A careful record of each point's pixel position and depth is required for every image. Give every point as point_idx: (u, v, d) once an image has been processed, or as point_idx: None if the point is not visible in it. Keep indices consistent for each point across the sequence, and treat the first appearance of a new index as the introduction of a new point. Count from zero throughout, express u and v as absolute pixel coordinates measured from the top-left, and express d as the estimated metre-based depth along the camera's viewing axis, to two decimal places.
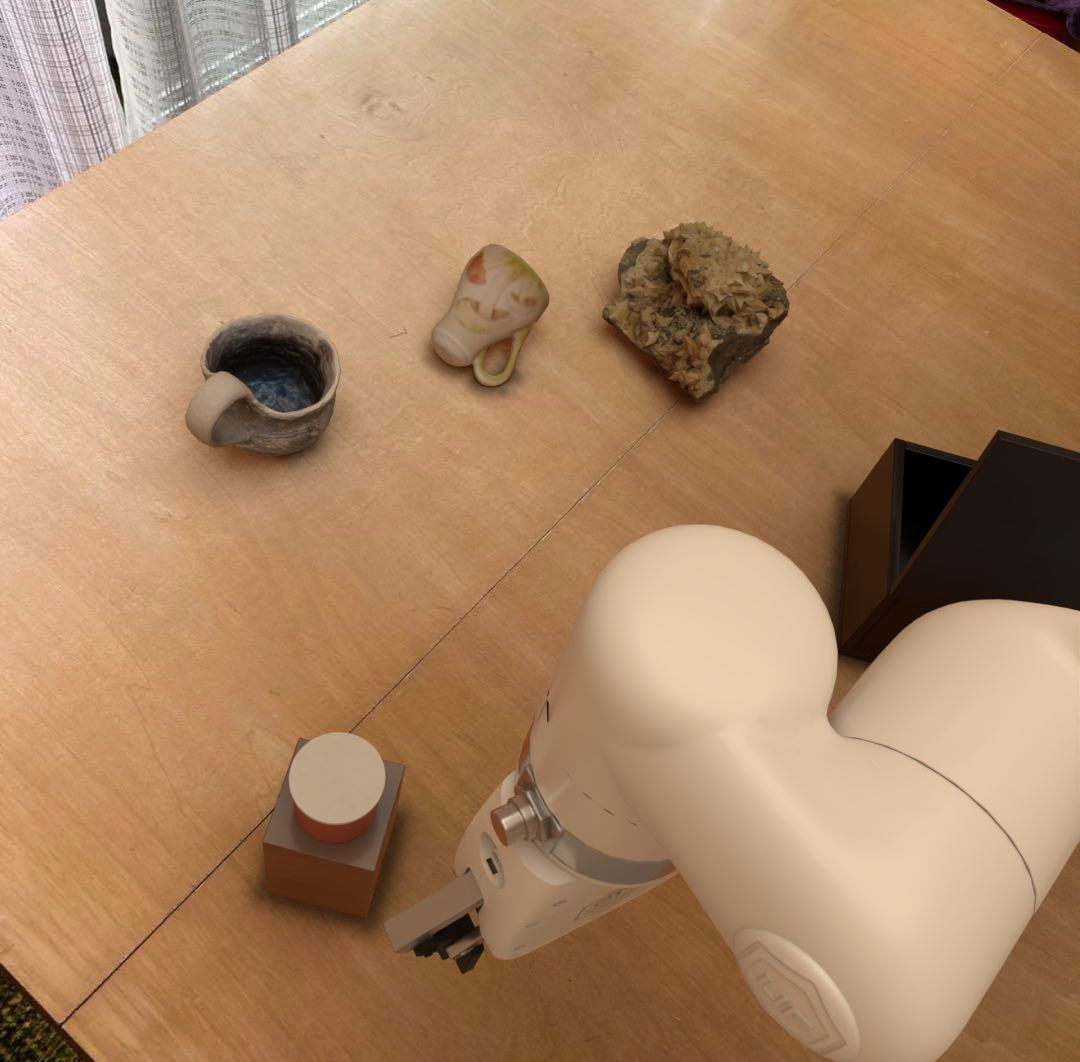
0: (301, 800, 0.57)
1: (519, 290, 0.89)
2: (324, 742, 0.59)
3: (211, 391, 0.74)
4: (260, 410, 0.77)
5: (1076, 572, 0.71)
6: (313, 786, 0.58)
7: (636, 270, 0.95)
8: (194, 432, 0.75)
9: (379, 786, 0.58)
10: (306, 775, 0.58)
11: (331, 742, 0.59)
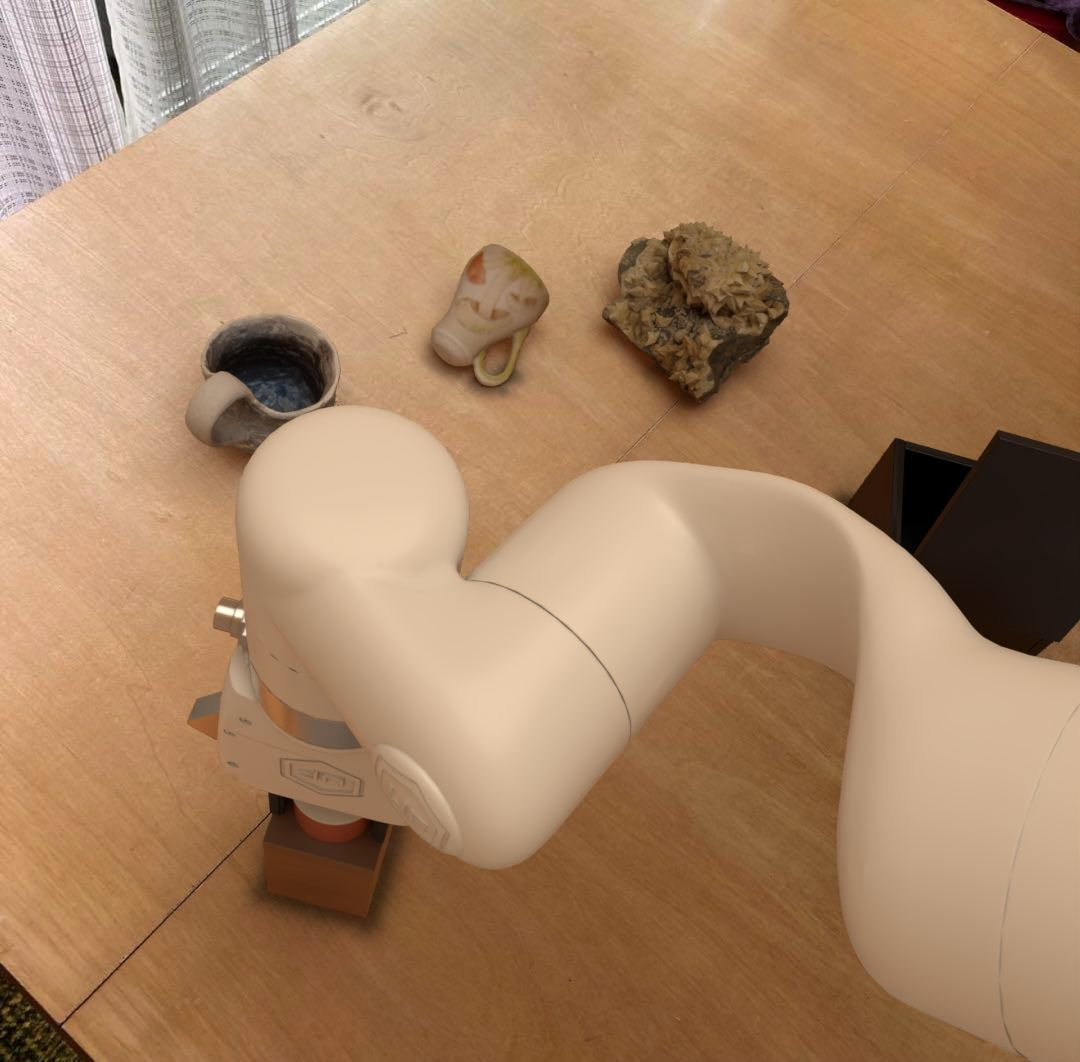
0: None
1: (519, 290, 0.89)
2: None
3: (211, 391, 0.74)
4: (260, 410, 0.77)
5: (1076, 572, 0.71)
6: None
7: (636, 270, 0.95)
8: (194, 432, 0.75)
9: None
10: None
11: None
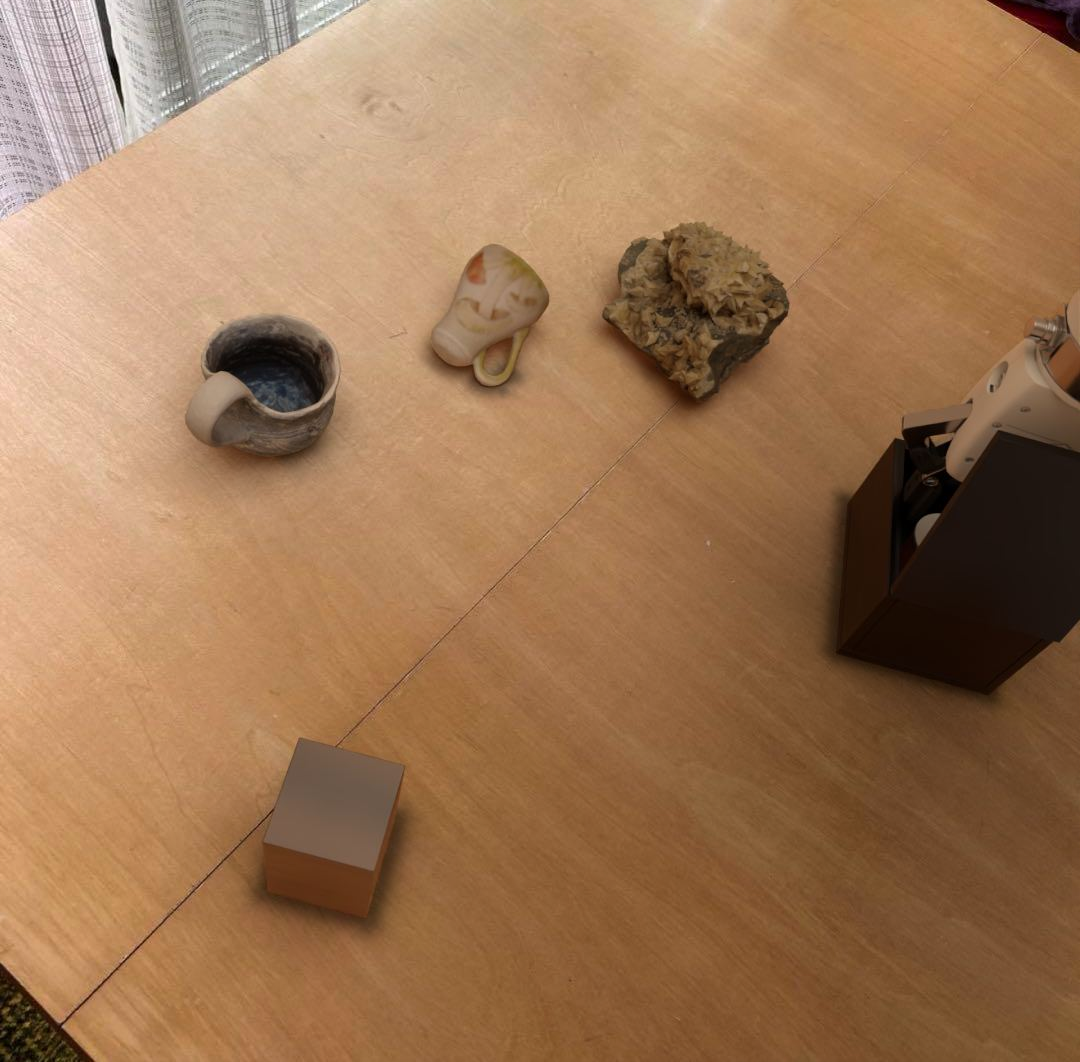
0: None
1: (519, 290, 0.89)
2: (931, 519, 0.85)
3: (211, 391, 0.74)
4: (260, 410, 0.77)
5: (1076, 572, 0.71)
6: None
7: (636, 270, 0.95)
8: (194, 432, 0.75)
9: None
10: None
11: (935, 519, 0.85)
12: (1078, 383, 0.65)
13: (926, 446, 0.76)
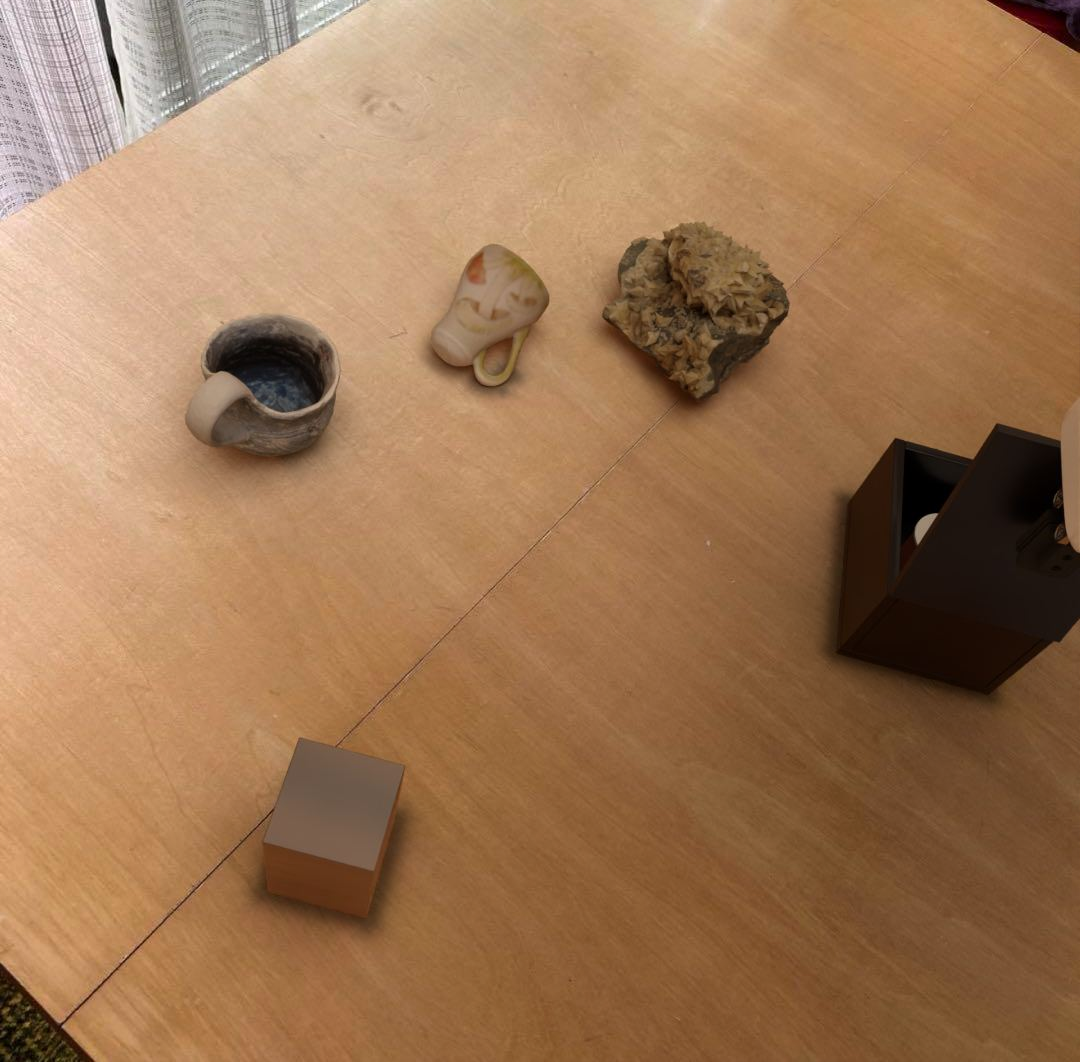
0: None
1: (519, 290, 0.89)
2: (931, 519, 0.85)
3: (211, 391, 0.74)
4: (260, 410, 0.77)
5: None
6: None
7: (636, 270, 0.95)
8: (194, 432, 0.75)
9: None
10: None
11: None
12: None
13: None
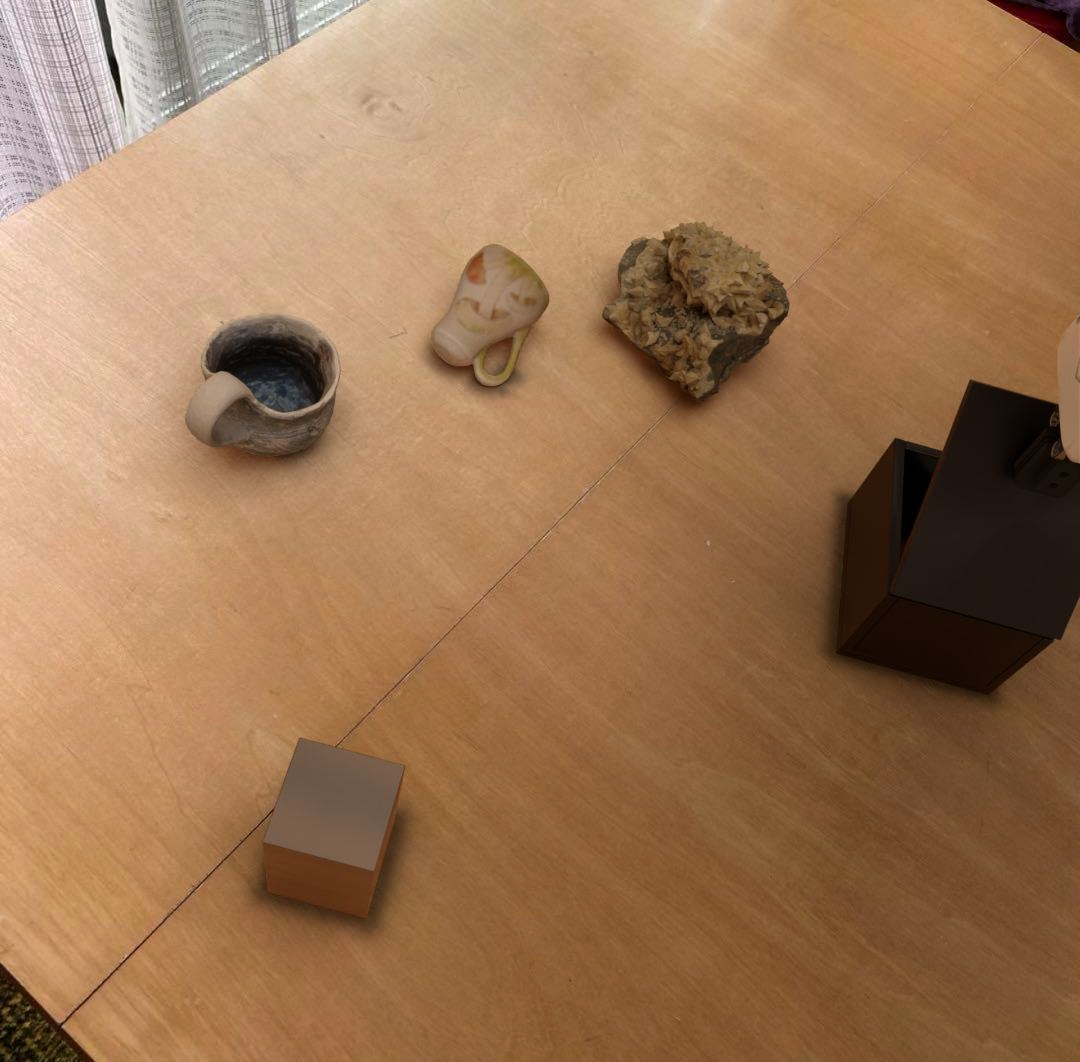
0: None
1: (519, 290, 0.89)
2: None
3: (211, 391, 0.74)
4: (260, 410, 0.77)
5: (1063, 541, 0.74)
6: None
7: (636, 270, 0.95)
8: (194, 432, 0.75)
9: None
10: None
11: None
12: None
13: None
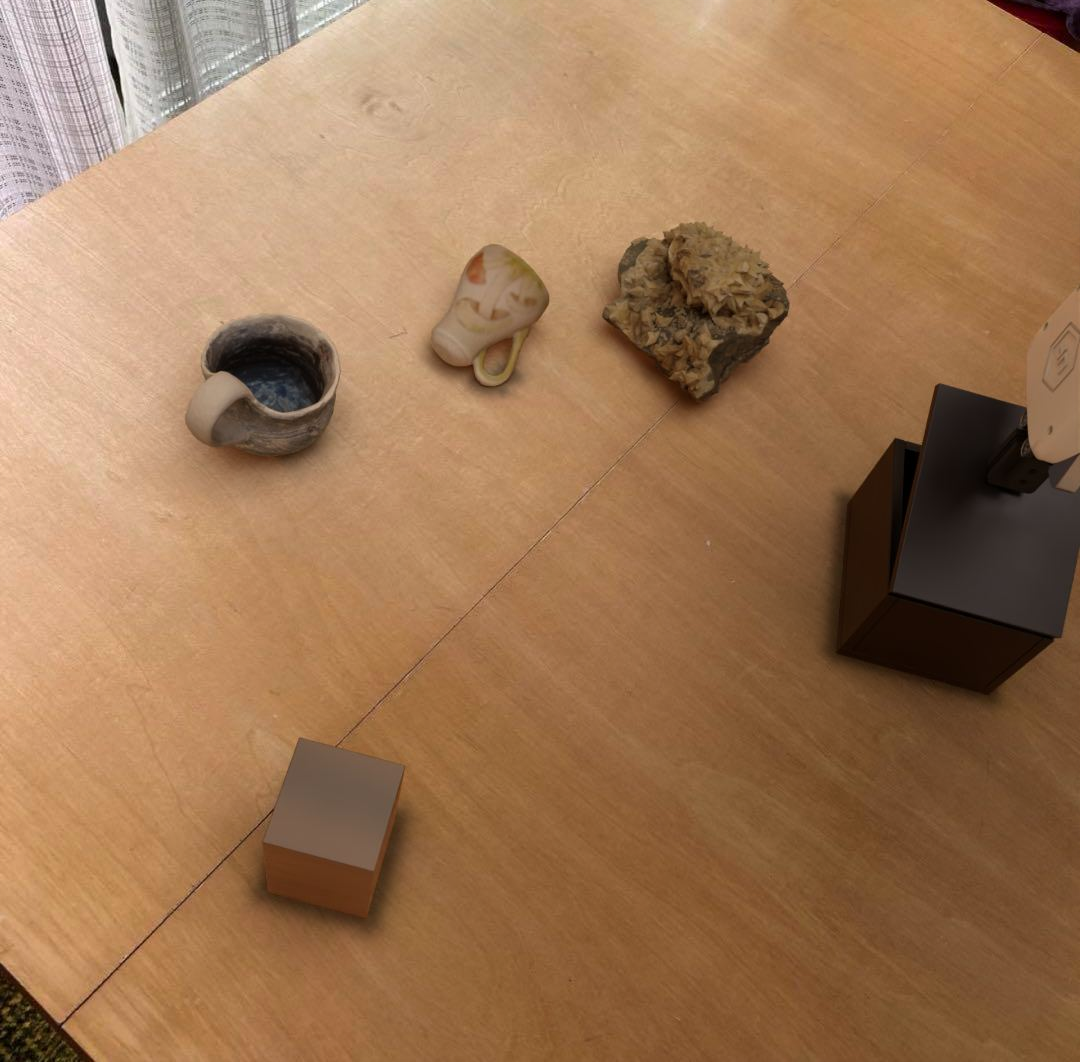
0: None
1: (519, 290, 0.89)
2: None
3: (211, 391, 0.74)
4: (260, 410, 0.77)
5: (1045, 535, 0.76)
6: None
7: (636, 270, 0.95)
8: (194, 432, 0.75)
9: None
10: None
11: None
12: None
13: None
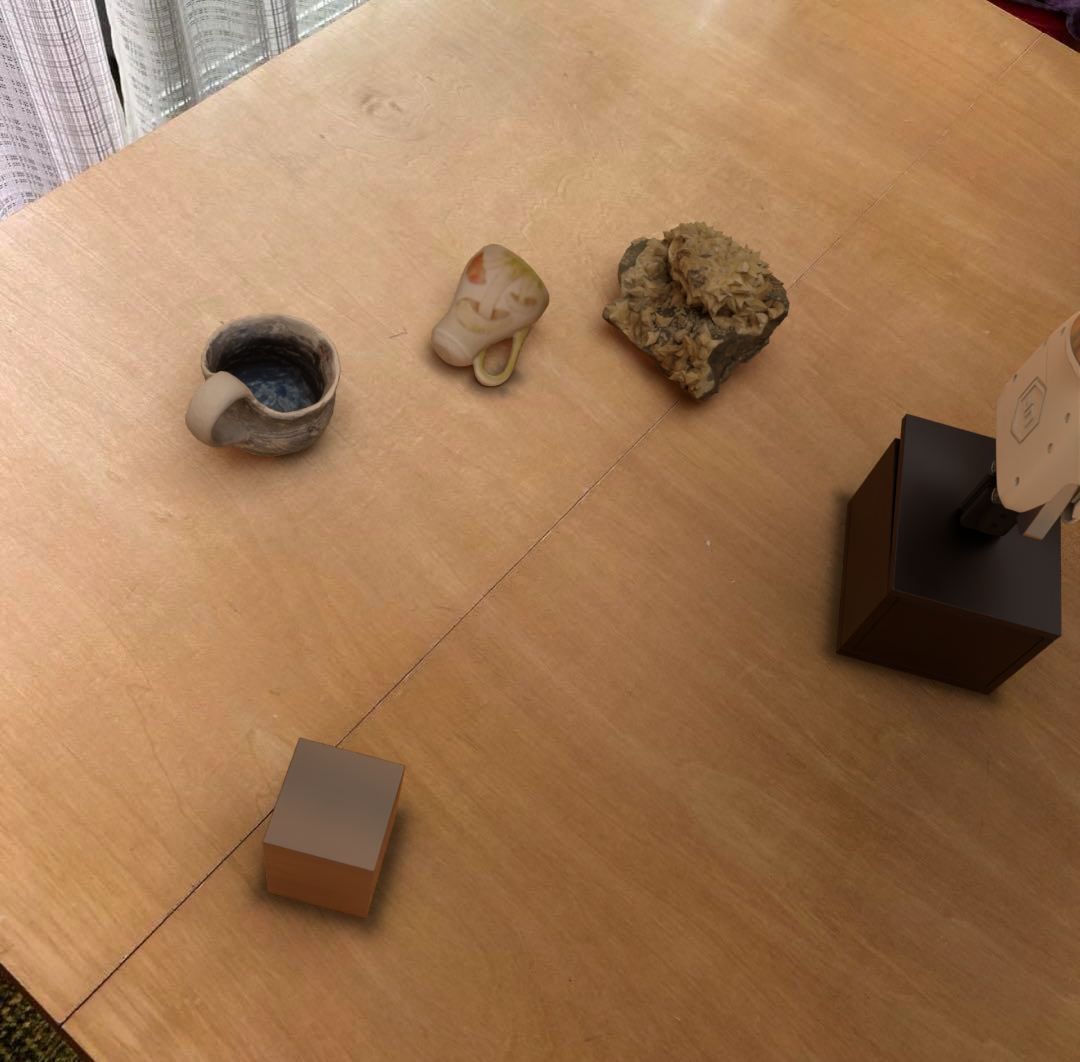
0: None
1: (519, 290, 0.89)
2: None
3: (211, 391, 0.74)
4: (260, 410, 0.77)
5: (1027, 543, 0.79)
6: None
7: (636, 270, 0.95)
8: (194, 432, 0.75)
9: None
10: None
11: None
12: None
13: None
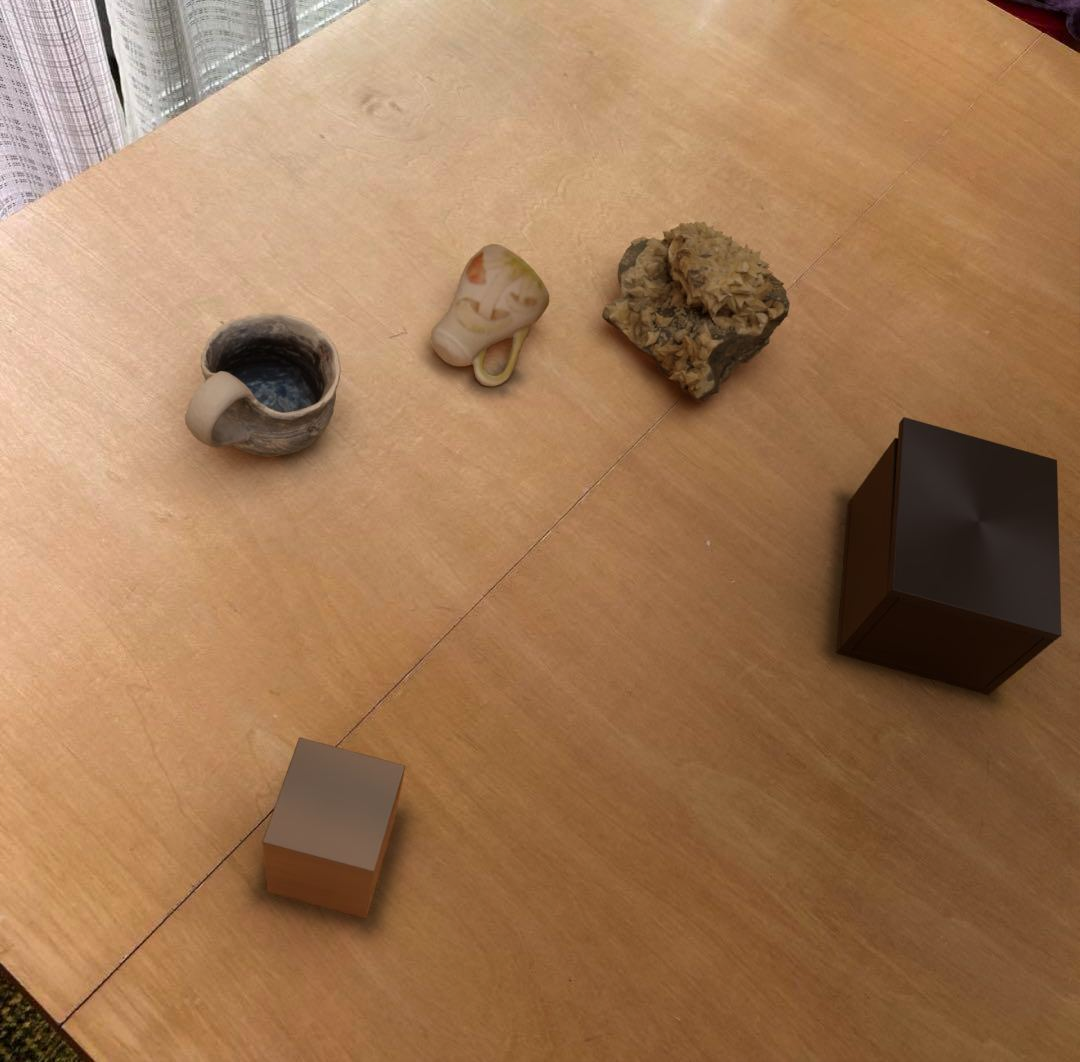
0: None
1: (519, 290, 0.89)
2: None
3: (211, 391, 0.74)
4: (260, 410, 0.77)
5: (1025, 545, 0.79)
6: None
7: (636, 270, 0.95)
8: (194, 432, 0.75)
9: None
10: None
11: None
12: None
13: None
